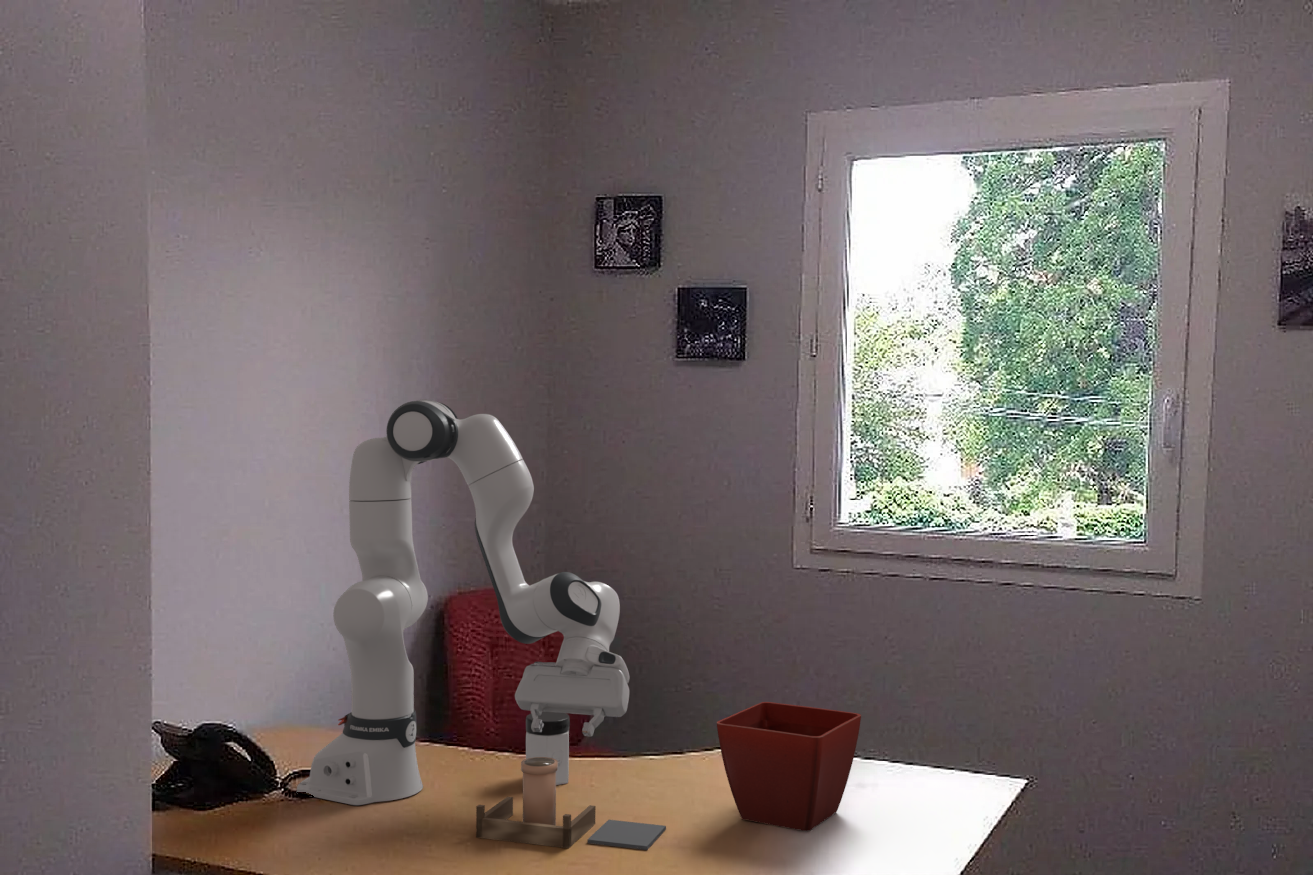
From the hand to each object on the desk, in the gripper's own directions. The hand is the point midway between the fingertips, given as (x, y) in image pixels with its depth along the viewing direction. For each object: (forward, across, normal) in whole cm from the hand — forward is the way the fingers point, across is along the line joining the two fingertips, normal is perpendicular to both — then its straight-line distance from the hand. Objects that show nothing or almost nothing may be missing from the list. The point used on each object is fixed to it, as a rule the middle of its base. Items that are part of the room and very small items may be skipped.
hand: (561, 732), depth 206 cm
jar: (-1, -9, +21) cm, 23 cm away
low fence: (+16, 0, +3) cm, 17 cm away
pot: (+16, 0, +3) cm, 16 cm away
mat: (+16, +15, +4) cm, 22 cm away
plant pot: (+3, +38, +17) cm, 41 cm away
